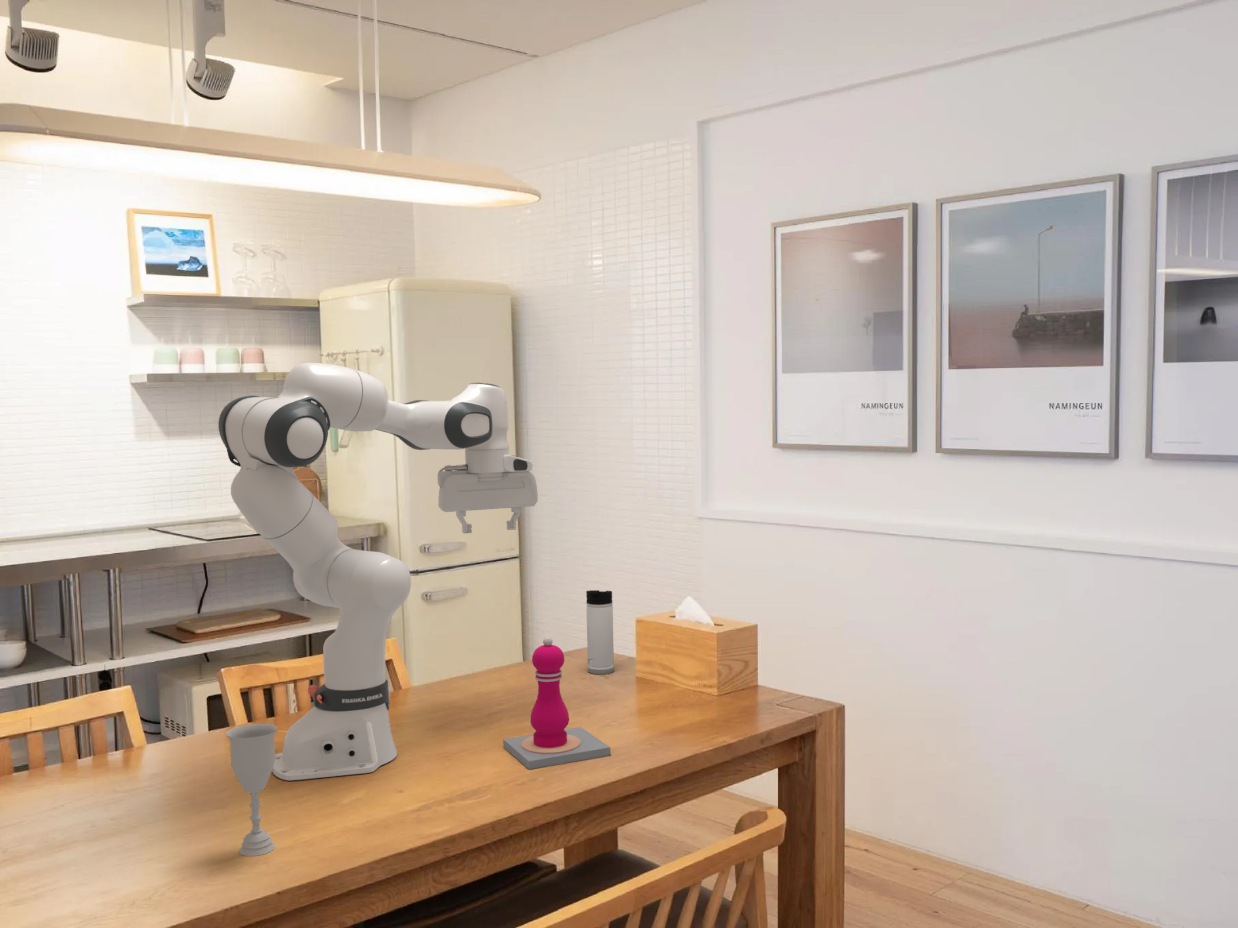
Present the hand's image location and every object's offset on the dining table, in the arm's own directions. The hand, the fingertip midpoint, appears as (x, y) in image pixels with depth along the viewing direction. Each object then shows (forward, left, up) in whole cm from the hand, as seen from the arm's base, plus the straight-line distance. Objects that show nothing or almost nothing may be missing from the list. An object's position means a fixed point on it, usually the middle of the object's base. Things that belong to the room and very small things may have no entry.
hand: (489, 531), depth 223 cm
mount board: (+4, -24, -39) cm, 46 cm away
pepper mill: (+3, -24, -38) cm, 45 cm away
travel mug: (+35, +25, -39) cm, 58 cm away
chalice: (-52, -44, -39) cm, 79 cm away
